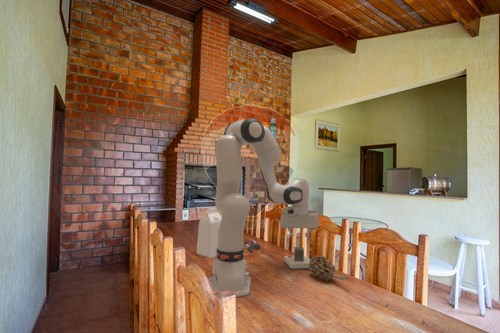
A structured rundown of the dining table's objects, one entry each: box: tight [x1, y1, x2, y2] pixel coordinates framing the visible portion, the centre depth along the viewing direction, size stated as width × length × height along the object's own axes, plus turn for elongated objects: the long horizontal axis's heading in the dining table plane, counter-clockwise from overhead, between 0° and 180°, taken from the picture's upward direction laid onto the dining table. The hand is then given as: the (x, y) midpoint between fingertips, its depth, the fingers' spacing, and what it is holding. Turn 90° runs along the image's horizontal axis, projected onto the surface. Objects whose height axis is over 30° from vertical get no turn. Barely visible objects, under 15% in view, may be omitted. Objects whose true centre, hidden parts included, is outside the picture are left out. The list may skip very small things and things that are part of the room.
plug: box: [293, 246, 305, 262], centre depth 141 cm, size 6×5×8 cm
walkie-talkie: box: [244, 239, 261, 253], centre depth 170 cm, size 9×4×20 cm
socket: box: [283, 255, 311, 271], centre depth 141 cm, size 12×12×4 cm
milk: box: [195, 207, 222, 259], centre depth 158 cm, size 12×12×26 cm
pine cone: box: [308, 254, 349, 282], centre depth 121 cm, size 22×10×10 cm, turn 36°
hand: (299, 236), depth 141 cm, fingers open, 7 cm apart
